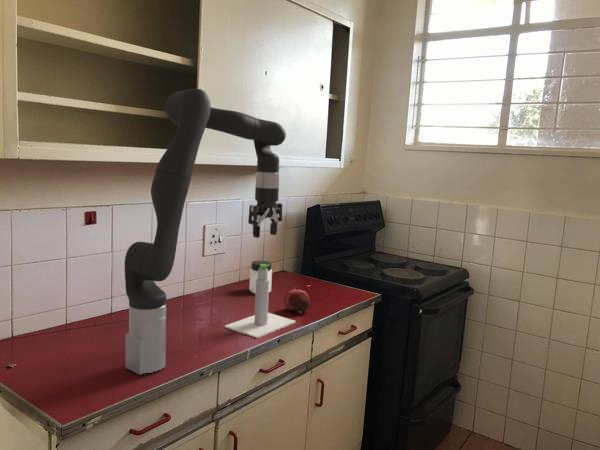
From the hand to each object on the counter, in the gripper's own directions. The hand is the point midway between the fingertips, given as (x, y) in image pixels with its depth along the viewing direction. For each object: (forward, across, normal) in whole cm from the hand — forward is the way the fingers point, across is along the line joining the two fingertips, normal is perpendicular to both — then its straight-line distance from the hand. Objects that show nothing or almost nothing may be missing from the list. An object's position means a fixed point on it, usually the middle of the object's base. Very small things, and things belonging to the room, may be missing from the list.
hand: (265, 236), depth 163 cm
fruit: (+30, +20, 0) cm, 36 cm away
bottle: (+30, 0, 0) cm, 30 cm away
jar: (+30, +30, +26) cm, 50 cm away
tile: (+30, 0, 0) cm, 30 cm away
